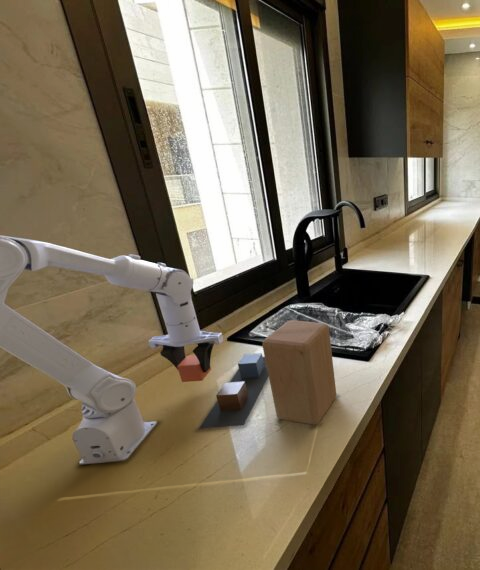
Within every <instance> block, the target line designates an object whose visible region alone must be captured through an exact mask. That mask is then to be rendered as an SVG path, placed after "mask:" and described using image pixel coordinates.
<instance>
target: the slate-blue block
mask: <svg viewBox="0 0 480 570" xmlns="http://www.w3.org/2000/svg"><path fill="white" fill-rule="evenodd" d="M263 357H264V355H263V353H261V352H260V353H259V352H258V353H245V354H244V355H243V356H242V357H241V359H240V360H239V362H238V363H237V367H238V369H239V371H240V375H241V378H253V377H259V376H260V375H261V373H262V371H263V369H264V367H265V366H264V361H263Z"/></svg>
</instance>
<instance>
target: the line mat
mask: <svg viewBox="0 0 480 570" xmlns="http://www.w3.org/2000/svg"><path fill="white" fill-rule="evenodd" d="M263 361H264V366H265V367H264V369H263V371H262V373H261V375H260V376H259V377H253V378H241V375H240V371H239V368H238V369H237V371H235V373H234V375H233V377H232V378H231V379H230V381H229V382H243V381H245V384H246V388H247V393H248V398H247V400H246V402H245V404H244V405H243V407H242V409H241V410H230V411H220V408H219V404H218V401H217V400H216V402H215V404H214V405H213V406H212V407H211V409H210V410H209V412H208V414H207V415H206V417H205V418H204V420H203V421H202V423H201V424H200V426H199V427H198V430H203V429H213V428H226V427H238V426H244V425H245V424H246V422H247V420H248V418H249V416H250V414H251V412H252V410H253V408H254V406H255V405H256V402H257V400H258V398H259V396H260V395H261V392H262V390H263V389H264V387H265V385H266V383H267V381H268V380H269V375H268V370H267V365H266V361H265V356H263Z"/></svg>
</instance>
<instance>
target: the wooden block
mask: <svg viewBox="0 0 480 570" xmlns="http://www.w3.org/2000/svg"><path fill="white" fill-rule="evenodd" d="M262 351H263V357H265V361H266V365H267V370H268V375H269V377H268V381H269V385H270V389H271V395H272V400H273V405H274V409H275V415H276V417H277V418H278V419H279V420H282V421H283V420H284V421H288V422H295V423H301V424H307V425H311V426H315V425H318V424H319V423H320V421H321V420H322V419H323V417H324V415H325V414H326V413H327V411H328V410H329V408H330V407H331V405H332V404H333V402H334V400H335V399H336V397H337V386H336V378H335V369H334V362H333V361H334V360H333V353H332V352H333V351H332V343H331V334H330V327H329V325H328V324H327V323H325V322H324V323H323V322H315V321H314V322H313V321H305V320H296V319H290V320H287V321H286V322H285V323H282V325H280V326H279V327H278V328H277V329H275V330H274V331H273V332H272V333H270V334H269V335H268V336H266V338H264V339H263V341H262Z"/></svg>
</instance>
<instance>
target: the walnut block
mask: <svg viewBox="0 0 480 570" xmlns="http://www.w3.org/2000/svg"><path fill="white" fill-rule="evenodd" d="M215 397H216V402H217V401H218V404H219V408H220V411H230V410H241V409H242V407H243V405H244V404H245V402H246V400H247V398H248V393H247V388H246V384H245V381H243V382H230V381H229V382H224V383H223V385H222V386H221V388H220V389H219V390H218V392H217V394H216V395H215Z"/></svg>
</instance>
